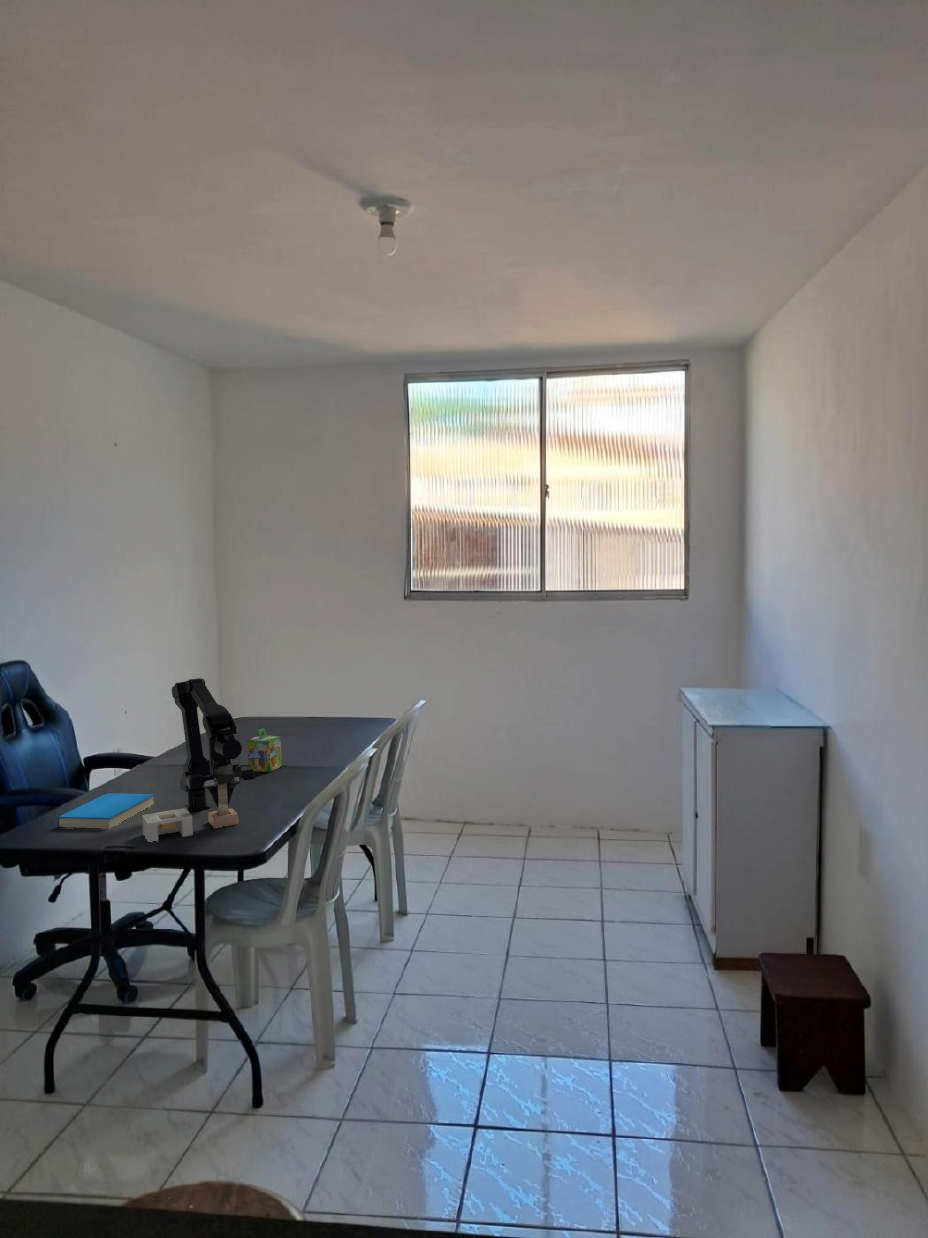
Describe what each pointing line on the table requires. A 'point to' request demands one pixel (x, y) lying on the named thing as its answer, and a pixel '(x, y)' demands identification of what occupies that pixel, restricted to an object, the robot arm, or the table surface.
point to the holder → (223, 819)
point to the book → (106, 811)
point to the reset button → (168, 825)
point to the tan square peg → (222, 799)
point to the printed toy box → (264, 752)
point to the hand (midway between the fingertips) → (222, 806)
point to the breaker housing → (155, 819)
